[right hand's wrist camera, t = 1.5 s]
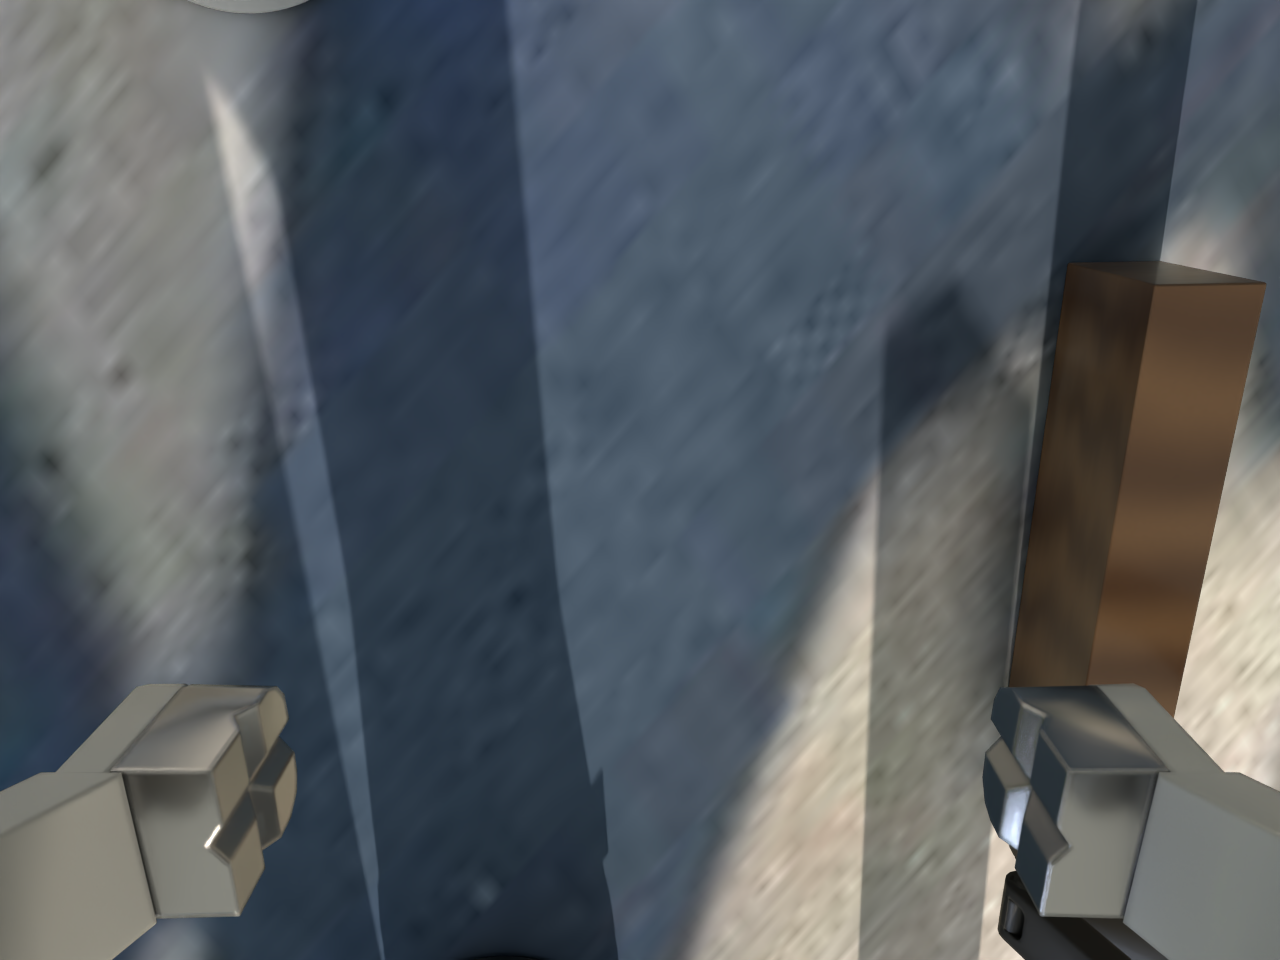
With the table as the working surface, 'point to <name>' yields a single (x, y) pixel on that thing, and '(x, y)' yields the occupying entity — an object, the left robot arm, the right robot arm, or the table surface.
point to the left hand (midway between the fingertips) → (1164, 770)
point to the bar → (1132, 472)
